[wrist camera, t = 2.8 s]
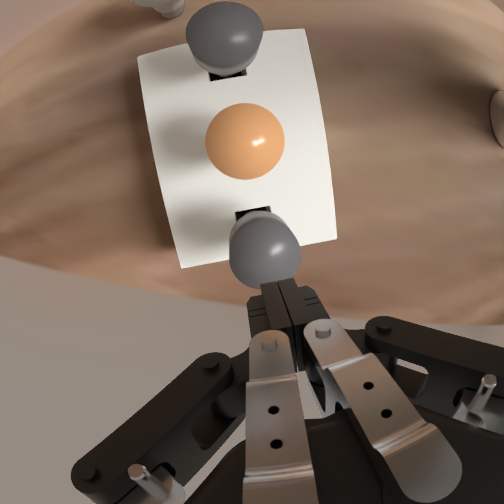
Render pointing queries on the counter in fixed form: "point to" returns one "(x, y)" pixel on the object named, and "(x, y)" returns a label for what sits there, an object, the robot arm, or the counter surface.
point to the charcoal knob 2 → (262, 249)
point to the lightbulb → (163, 6)
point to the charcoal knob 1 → (224, 37)
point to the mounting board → (202, 169)
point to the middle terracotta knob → (244, 141)
